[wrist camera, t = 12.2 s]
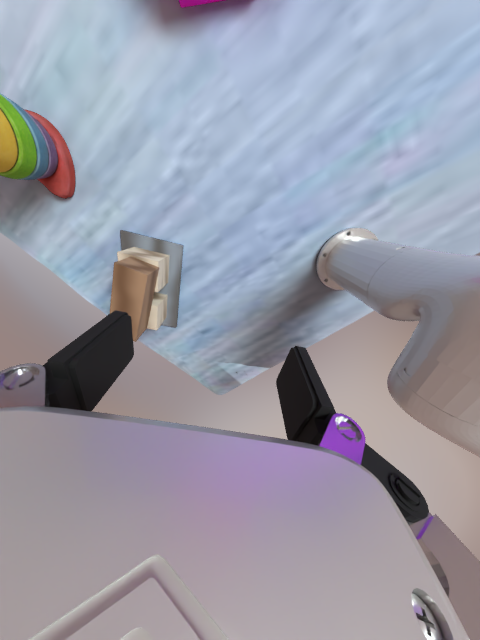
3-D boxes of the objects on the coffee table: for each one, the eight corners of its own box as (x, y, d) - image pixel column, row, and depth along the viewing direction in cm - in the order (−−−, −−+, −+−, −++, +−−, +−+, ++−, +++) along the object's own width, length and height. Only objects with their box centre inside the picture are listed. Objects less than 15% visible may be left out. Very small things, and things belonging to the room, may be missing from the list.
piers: (183, 245, 38) (173, 250, 32) (176, 326, 47) (168, 341, 42) (122, 230, 36) (100, 232, 31) (127, 316, 46) (112, 331, 40)
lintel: (159, 267, 33) (147, 275, 29) (147, 327, 40) (135, 341, 35) (130, 256, 32) (114, 262, 28) (122, 320, 39) (108, 333, 34)
